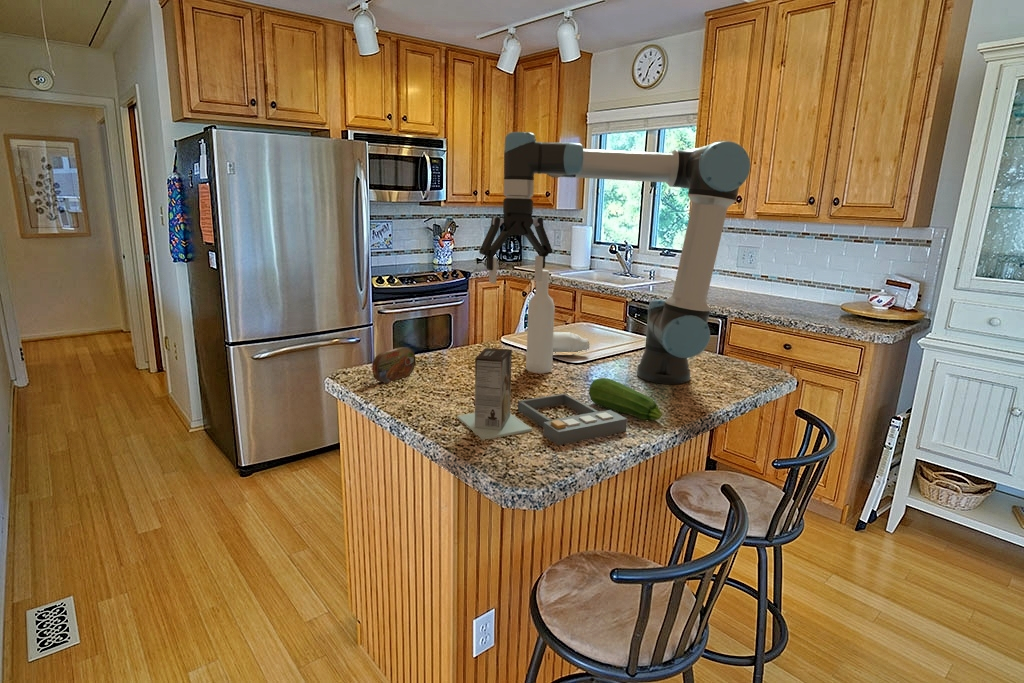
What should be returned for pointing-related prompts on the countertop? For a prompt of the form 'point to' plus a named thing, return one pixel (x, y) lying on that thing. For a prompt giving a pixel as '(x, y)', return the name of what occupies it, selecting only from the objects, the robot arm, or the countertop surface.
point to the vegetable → (623, 399)
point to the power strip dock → (572, 420)
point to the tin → (393, 364)
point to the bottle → (540, 328)
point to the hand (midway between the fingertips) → (515, 281)
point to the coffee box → (492, 388)
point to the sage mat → (509, 428)
